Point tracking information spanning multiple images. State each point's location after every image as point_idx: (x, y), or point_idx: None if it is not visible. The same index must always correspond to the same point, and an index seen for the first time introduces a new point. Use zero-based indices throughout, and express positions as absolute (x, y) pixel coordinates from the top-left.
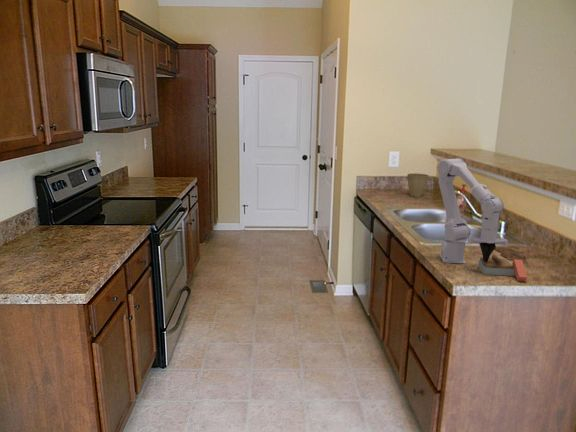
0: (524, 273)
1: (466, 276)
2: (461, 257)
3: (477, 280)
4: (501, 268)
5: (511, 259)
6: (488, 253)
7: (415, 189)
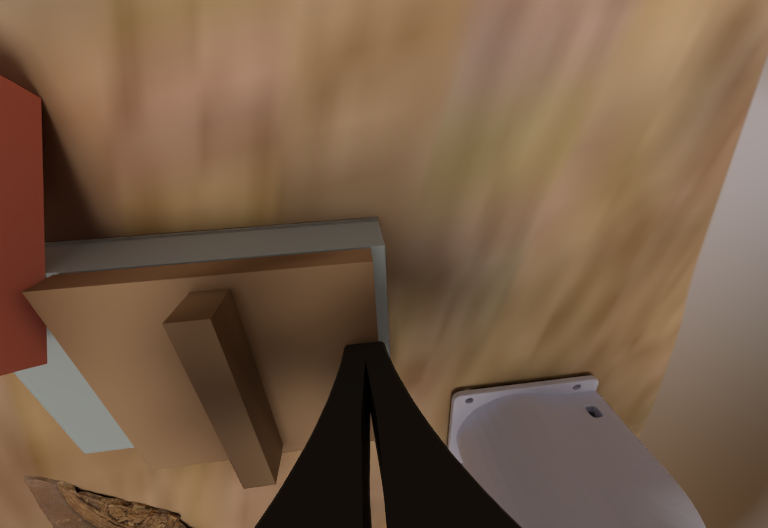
0: None
1: (559, 123)
2: (498, 433)
3: (494, 8)
4: (196, 261)
5: (150, 515)
6: (355, 434)
7: None
